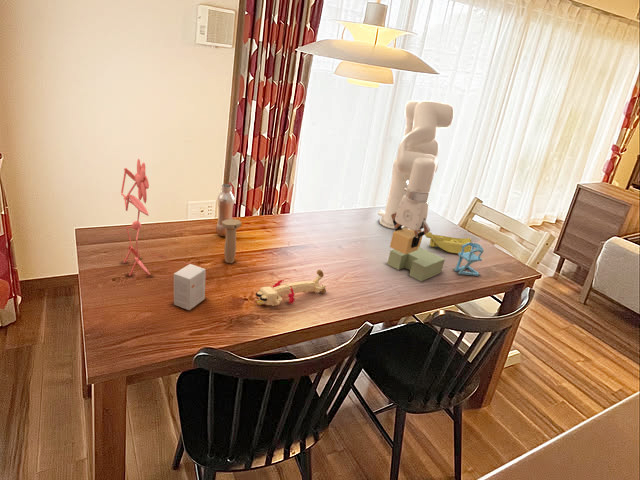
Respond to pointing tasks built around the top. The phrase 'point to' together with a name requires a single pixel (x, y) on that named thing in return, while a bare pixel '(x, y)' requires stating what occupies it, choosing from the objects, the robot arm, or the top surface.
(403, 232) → the tan rectangular block
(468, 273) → the chair
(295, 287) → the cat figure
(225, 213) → the plastic bottle
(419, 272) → the notch pad
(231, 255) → the handle
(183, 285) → the small box
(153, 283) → the top surface
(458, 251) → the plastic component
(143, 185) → the figurine
